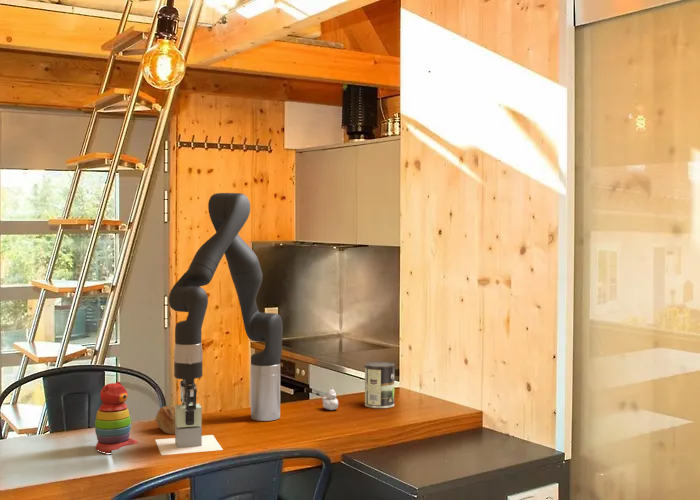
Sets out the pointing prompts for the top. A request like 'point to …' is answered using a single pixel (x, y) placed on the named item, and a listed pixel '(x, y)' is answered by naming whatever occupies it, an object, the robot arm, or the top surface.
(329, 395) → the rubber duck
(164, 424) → the bread roll
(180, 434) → the slate brick
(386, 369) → the coffee can
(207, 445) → the baseplate
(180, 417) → the sage brick
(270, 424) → the top surface
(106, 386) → the stacking bear
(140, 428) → the top surface
